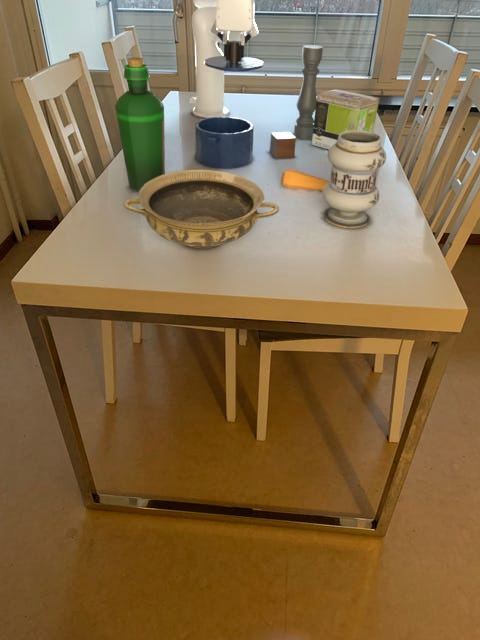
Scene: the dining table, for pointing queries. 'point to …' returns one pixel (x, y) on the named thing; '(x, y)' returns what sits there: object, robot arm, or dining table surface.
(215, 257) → the dining table surface
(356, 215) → the apothecary jar
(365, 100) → the tea box
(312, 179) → the carrot
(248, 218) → the ceramic bowl
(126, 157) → the bottle
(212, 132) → the pot
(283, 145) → the block
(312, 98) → the candle holder
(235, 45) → the lid
